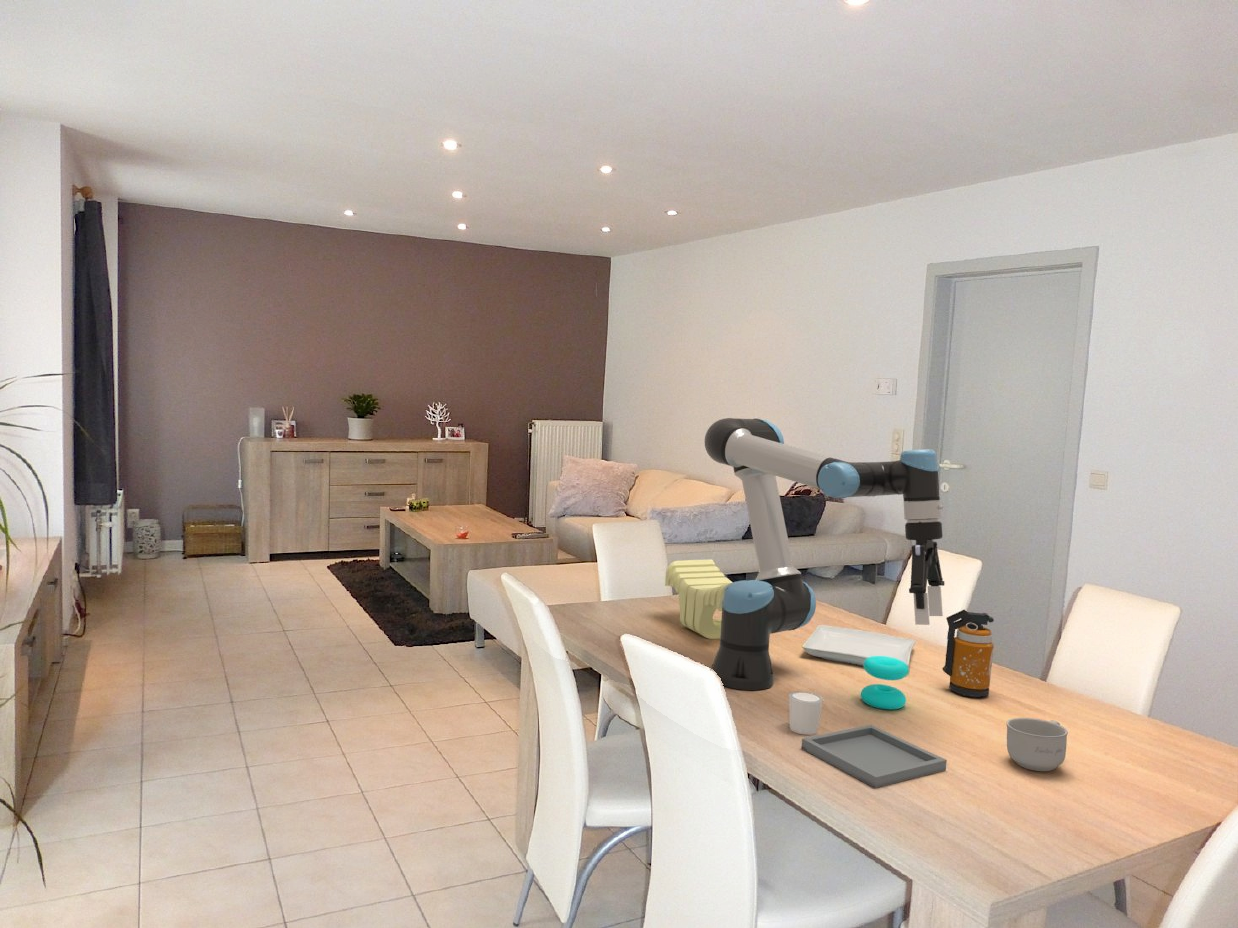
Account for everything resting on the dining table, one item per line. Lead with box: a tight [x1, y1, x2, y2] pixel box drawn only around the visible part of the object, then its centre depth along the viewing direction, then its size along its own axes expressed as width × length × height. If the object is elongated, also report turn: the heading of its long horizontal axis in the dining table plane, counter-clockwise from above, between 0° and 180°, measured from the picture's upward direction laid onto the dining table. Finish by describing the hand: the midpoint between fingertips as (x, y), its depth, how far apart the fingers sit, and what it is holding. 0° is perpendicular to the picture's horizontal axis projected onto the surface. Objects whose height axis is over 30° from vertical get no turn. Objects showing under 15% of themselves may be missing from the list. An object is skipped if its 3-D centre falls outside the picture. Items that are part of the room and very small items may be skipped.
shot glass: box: [788, 691, 824, 736], centre depth 186 cm, size 7×7×7 cm
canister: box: [941, 609, 995, 698], centre depth 217 cm, size 9×11×20 cm
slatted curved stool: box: [664, 558, 734, 640], centre depth 258 cm, size 30×16×18 cm, turn 26°
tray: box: [800, 724, 948, 789], centre depth 173 cm, size 19×19×2 cm
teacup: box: [1006, 717, 1069, 772], centre depth 176 cm, size 14×11×8 cm
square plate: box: [802, 624, 916, 667], centre depth 245 cm, size 27×27×4 cm
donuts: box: [860, 656, 910, 710], centre depth 206 cm, size 10×10×10 cm
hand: (929, 620), depth 193 cm, fingers open, 13 cm apart
